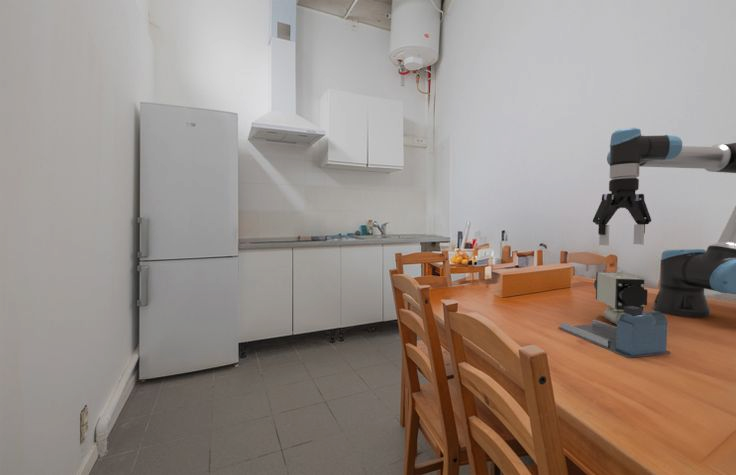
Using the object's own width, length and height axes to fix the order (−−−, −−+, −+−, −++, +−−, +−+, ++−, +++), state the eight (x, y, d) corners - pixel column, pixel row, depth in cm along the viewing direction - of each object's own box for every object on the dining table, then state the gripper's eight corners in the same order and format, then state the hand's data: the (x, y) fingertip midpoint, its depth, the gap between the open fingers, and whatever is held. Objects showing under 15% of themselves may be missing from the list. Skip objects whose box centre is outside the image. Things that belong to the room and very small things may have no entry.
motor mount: (592, 325, 107) (593, 288, 106) (670, 353, 84) (672, 307, 84) (558, 328, 104) (558, 291, 104) (628, 358, 82) (630, 310, 81)
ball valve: (652, 334, 98) (654, 275, 97) (619, 332, 100) (621, 274, 99) (619, 316, 116) (620, 266, 115) (592, 315, 118) (593, 266, 117)
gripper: (643, 180, 111) (640, 243, 113) (580, 179, 106) (579, 244, 108) (667, 178, 104) (664, 244, 105) (601, 176, 99) (599, 246, 100)
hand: (621, 244), depth 106 cm, fingers open, 13 cm apart
